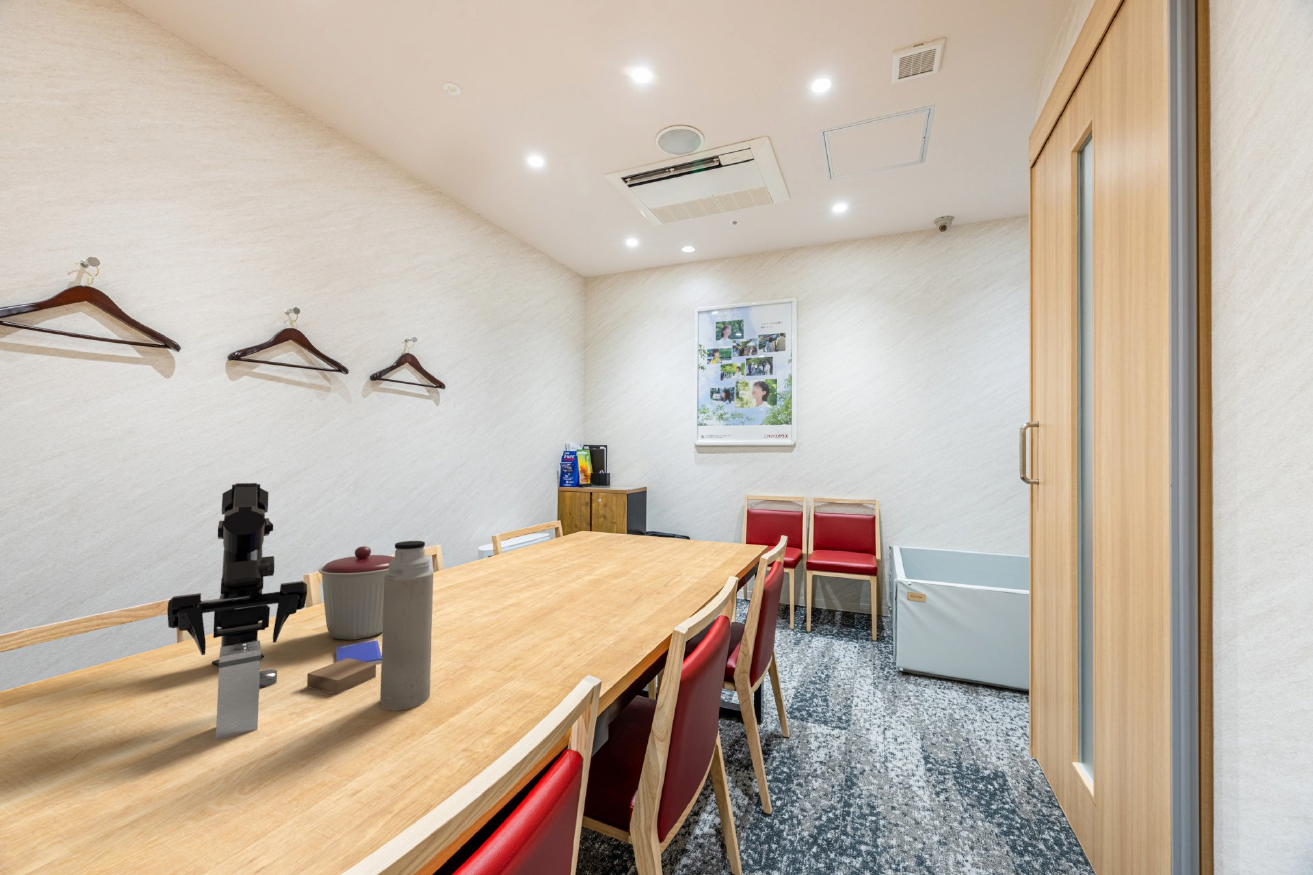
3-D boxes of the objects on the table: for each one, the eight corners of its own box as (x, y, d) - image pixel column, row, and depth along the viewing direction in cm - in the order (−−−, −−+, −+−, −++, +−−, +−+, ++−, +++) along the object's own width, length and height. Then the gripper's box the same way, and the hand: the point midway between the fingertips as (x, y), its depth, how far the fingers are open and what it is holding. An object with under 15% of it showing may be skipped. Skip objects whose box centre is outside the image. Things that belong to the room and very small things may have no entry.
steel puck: (244, 688, 95) (244, 677, 95) (263, 679, 98) (263, 668, 99) (264, 689, 94) (264, 678, 94) (282, 680, 98) (282, 669, 98)
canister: (379, 616, 137) (382, 538, 138) (415, 630, 126) (418, 545, 127) (302, 635, 122) (306, 547, 123) (335, 652, 112) (339, 556, 113)
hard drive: (336, 646, 113) (336, 666, 102) (377, 639, 117) (382, 657, 107) (335, 653, 113) (336, 674, 102) (377, 646, 117) (382, 665, 107)
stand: (307, 686, 95) (307, 673, 95) (346, 670, 103) (346, 657, 103) (337, 694, 92) (338, 680, 92) (375, 676, 100) (376, 663, 100)
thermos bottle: (405, 686, 96) (410, 537, 97) (439, 693, 93) (444, 539, 94) (369, 705, 88) (374, 543, 89) (405, 713, 85) (410, 546, 87)
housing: (216, 726, 81) (220, 643, 81) (256, 716, 84) (260, 636, 85) (215, 740, 77) (219, 652, 78) (257, 729, 80) (261, 645, 81)
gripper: (171, 547, 84) (160, 633, 75) (308, 537, 96) (312, 610, 86) (173, 586, 89) (163, 670, 80) (302, 572, 101) (306, 644, 92)
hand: (240, 647), depth 85 cm, fingers open, 9 cm apart
